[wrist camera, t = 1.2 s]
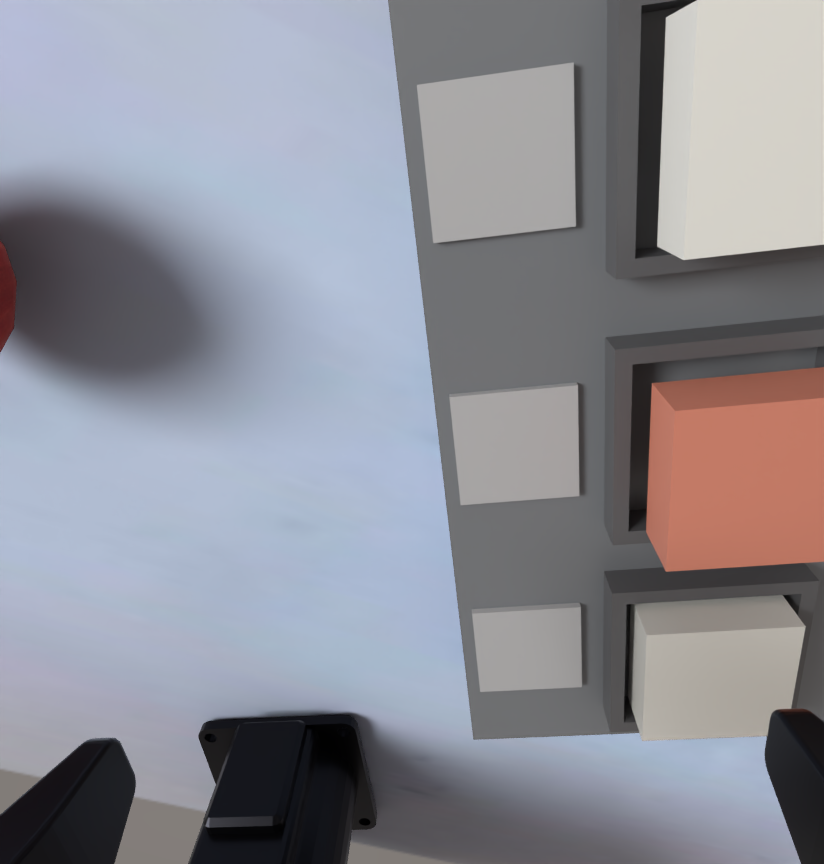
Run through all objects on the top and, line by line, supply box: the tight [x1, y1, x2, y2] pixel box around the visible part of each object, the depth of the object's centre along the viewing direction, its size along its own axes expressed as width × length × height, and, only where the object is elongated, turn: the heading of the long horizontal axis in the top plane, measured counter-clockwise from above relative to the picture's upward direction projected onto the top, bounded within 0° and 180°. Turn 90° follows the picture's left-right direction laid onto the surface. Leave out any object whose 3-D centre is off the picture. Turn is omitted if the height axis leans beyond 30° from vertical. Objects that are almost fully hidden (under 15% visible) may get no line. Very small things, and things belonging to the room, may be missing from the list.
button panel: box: [388, 0, 824, 740], centre depth 17 cm, size 22×12×4 cm, turn 7°
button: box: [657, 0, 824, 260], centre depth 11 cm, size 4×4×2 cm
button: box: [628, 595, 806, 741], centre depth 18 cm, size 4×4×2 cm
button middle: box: [646, 367, 824, 572], centre depth 14 cm, size 4×4×2 cm
